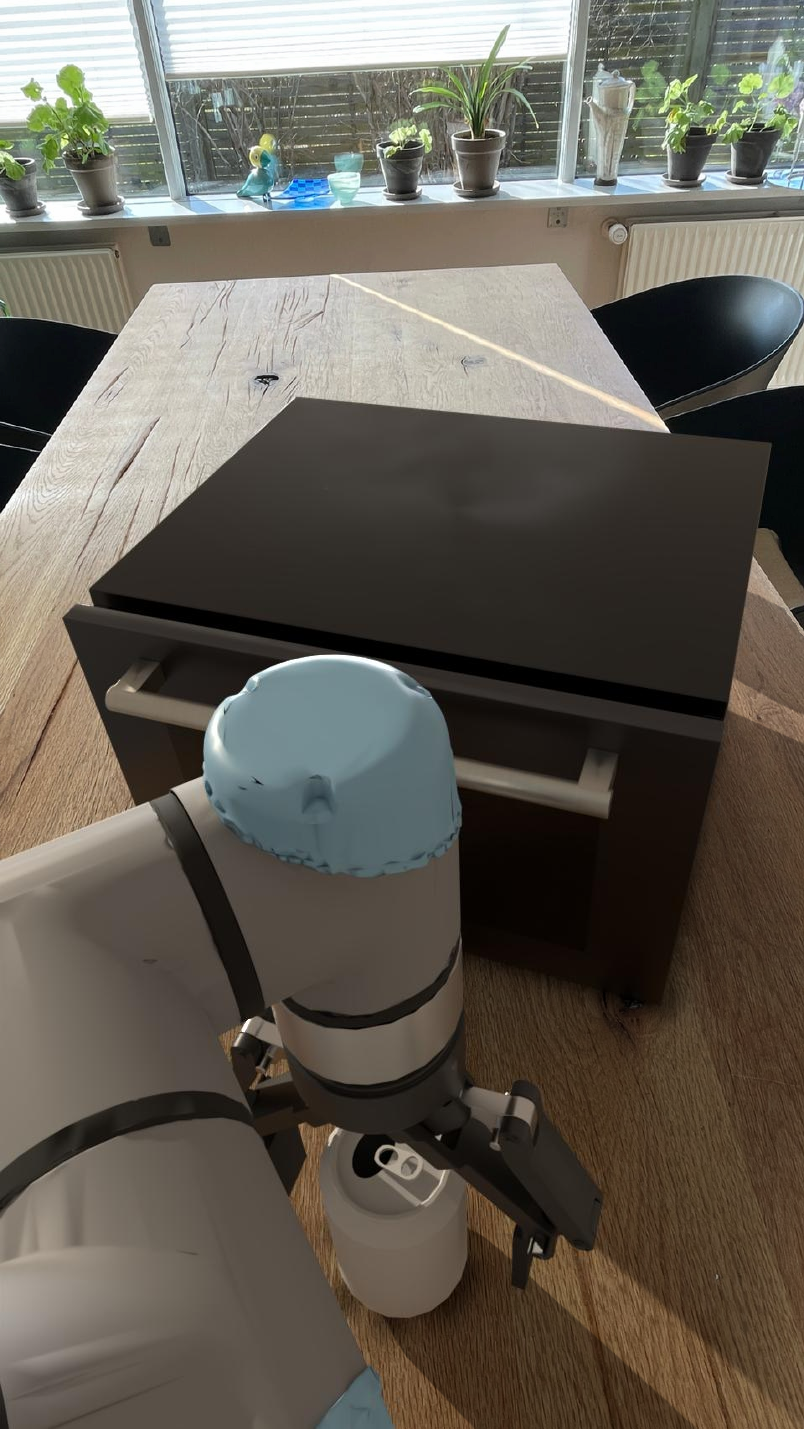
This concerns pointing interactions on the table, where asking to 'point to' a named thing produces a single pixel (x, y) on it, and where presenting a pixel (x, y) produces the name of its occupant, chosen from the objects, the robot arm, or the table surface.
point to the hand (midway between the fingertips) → (403, 1217)
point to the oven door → (468, 791)
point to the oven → (471, 549)
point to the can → (393, 1222)
